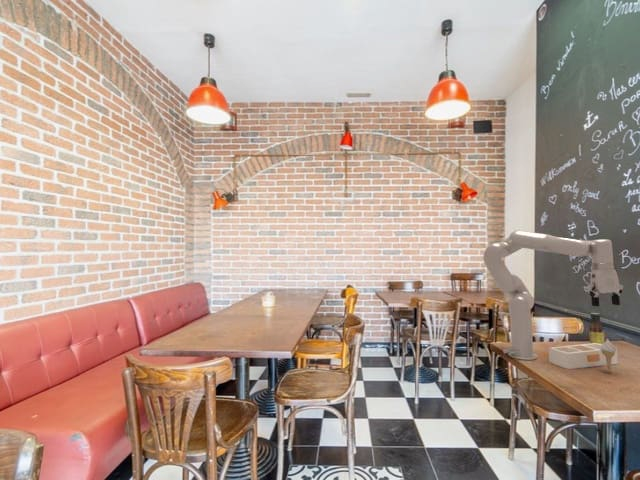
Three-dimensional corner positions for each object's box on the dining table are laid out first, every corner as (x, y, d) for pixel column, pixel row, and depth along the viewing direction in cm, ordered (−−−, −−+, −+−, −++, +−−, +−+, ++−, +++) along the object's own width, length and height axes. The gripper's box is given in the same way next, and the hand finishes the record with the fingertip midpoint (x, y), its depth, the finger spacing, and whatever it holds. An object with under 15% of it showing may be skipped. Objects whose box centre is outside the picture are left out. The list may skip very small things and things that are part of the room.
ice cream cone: (619, 375, 146) (617, 340, 147) (602, 373, 149) (600, 338, 150) (616, 371, 151) (614, 337, 152) (600, 369, 154) (598, 335, 155)
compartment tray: (569, 369, 155) (568, 354, 155) (549, 362, 165) (548, 347, 166) (619, 364, 160) (618, 348, 161) (596, 357, 171) (595, 343, 171)
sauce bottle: (608, 353, 176) (606, 314, 176) (594, 353, 177) (592, 314, 178) (601, 350, 182) (598, 312, 183) (587, 349, 183) (585, 312, 184)
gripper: (592, 268, 150) (595, 307, 149) (628, 266, 151) (632, 305, 150) (577, 267, 157) (580, 305, 157) (612, 265, 159) (615, 303, 158)
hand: (605, 305), depth 154 cm, fingers open, 9 cm apart
